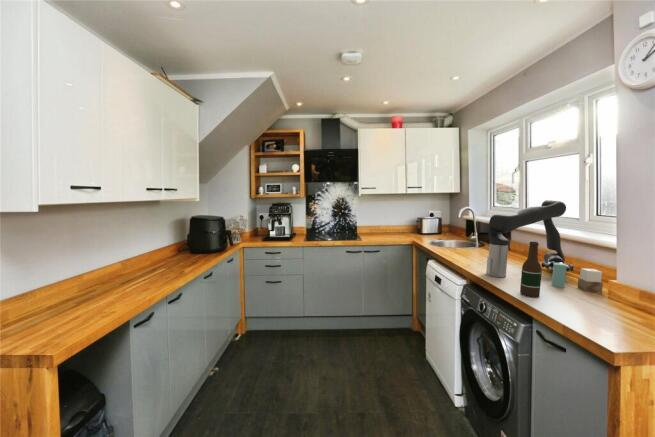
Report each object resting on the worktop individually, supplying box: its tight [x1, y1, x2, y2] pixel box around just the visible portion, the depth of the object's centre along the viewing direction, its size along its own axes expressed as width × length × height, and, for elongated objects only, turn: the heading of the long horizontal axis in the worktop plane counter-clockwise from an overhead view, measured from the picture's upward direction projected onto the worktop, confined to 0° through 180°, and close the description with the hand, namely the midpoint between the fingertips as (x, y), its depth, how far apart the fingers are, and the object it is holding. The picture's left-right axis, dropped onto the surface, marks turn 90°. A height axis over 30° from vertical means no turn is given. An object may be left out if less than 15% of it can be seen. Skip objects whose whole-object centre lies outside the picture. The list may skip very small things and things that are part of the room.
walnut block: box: [577, 277, 604, 294], centre depth 164 cm, size 7×7×5 cm
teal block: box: [551, 263, 568, 288], centre depth 170 cm, size 5×5×11 cm
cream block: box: [579, 267, 603, 282], centre depth 163 cm, size 6×6×5 cm
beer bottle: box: [519, 241, 543, 299], centre depth 151 cm, size 8×8×24 cm
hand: (557, 268), depth 179 cm, fingers open, 8 cm apart
